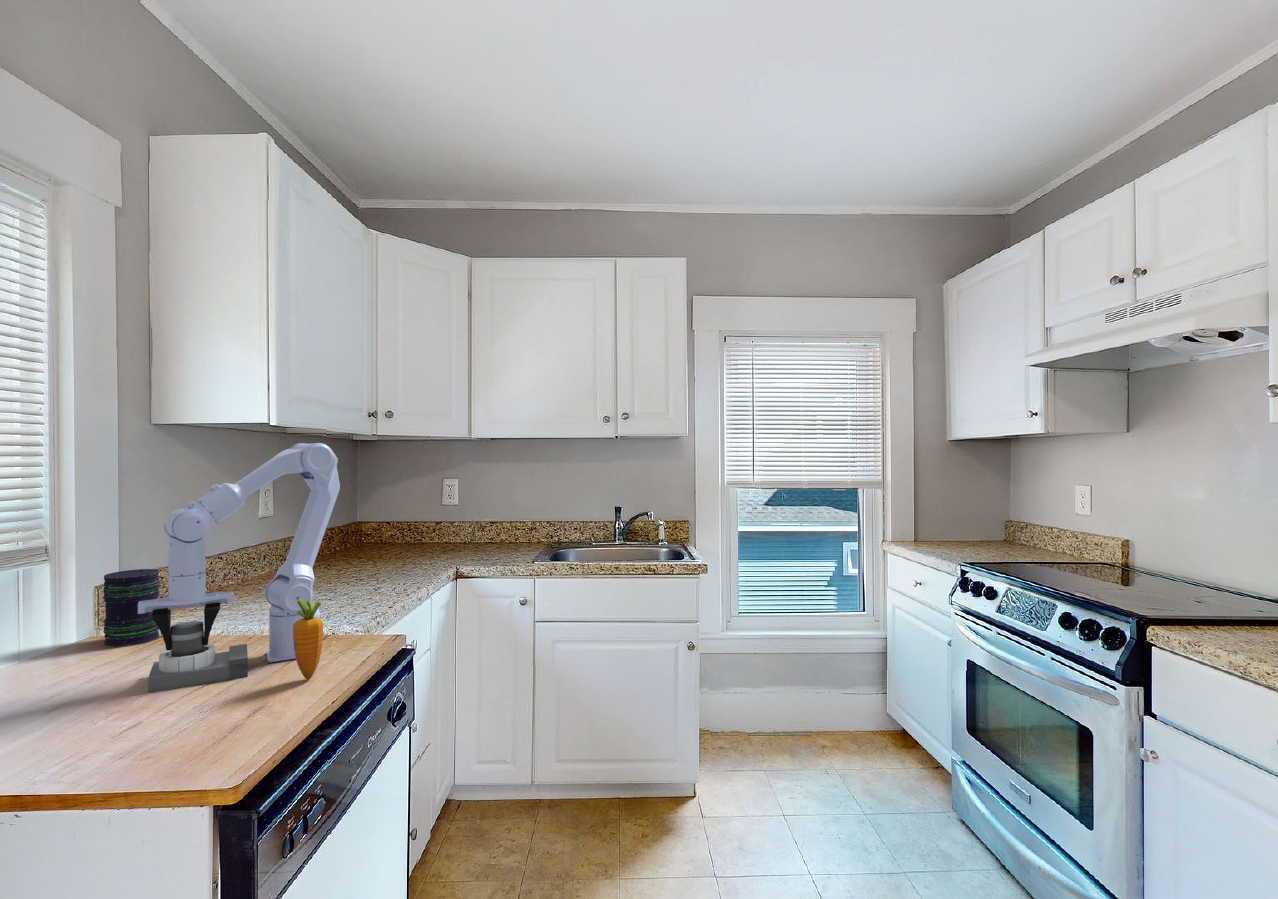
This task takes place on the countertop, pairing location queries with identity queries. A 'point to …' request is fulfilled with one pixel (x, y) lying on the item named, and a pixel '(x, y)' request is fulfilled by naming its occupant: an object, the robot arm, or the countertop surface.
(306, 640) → the carrot
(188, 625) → the lens
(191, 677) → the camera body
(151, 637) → the storage jar
